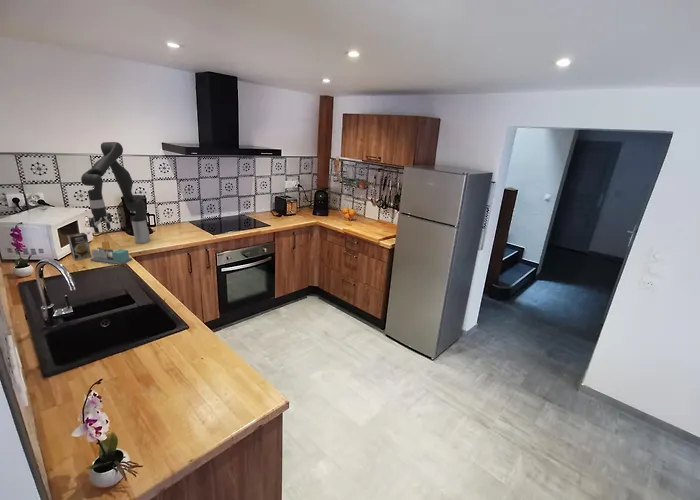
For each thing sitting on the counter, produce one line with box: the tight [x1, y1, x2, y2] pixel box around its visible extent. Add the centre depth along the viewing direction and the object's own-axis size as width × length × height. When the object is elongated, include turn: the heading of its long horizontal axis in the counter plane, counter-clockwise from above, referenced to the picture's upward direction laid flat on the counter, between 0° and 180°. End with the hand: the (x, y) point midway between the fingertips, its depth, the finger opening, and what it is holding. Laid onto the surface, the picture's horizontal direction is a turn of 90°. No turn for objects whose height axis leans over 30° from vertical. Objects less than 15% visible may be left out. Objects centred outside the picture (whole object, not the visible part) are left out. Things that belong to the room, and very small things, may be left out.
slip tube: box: [101, 240, 113, 258], centre depth 224 cm, size 12×4×11 cm, turn 78°
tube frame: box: [90, 246, 133, 266], centre depth 225 cm, size 22×10×8 cm, turn 78°
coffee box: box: [66, 232, 92, 261], centre depth 226 cm, size 9×6×16 cm
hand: (103, 230), depth 220 cm, fingers open, 8 cm apart
